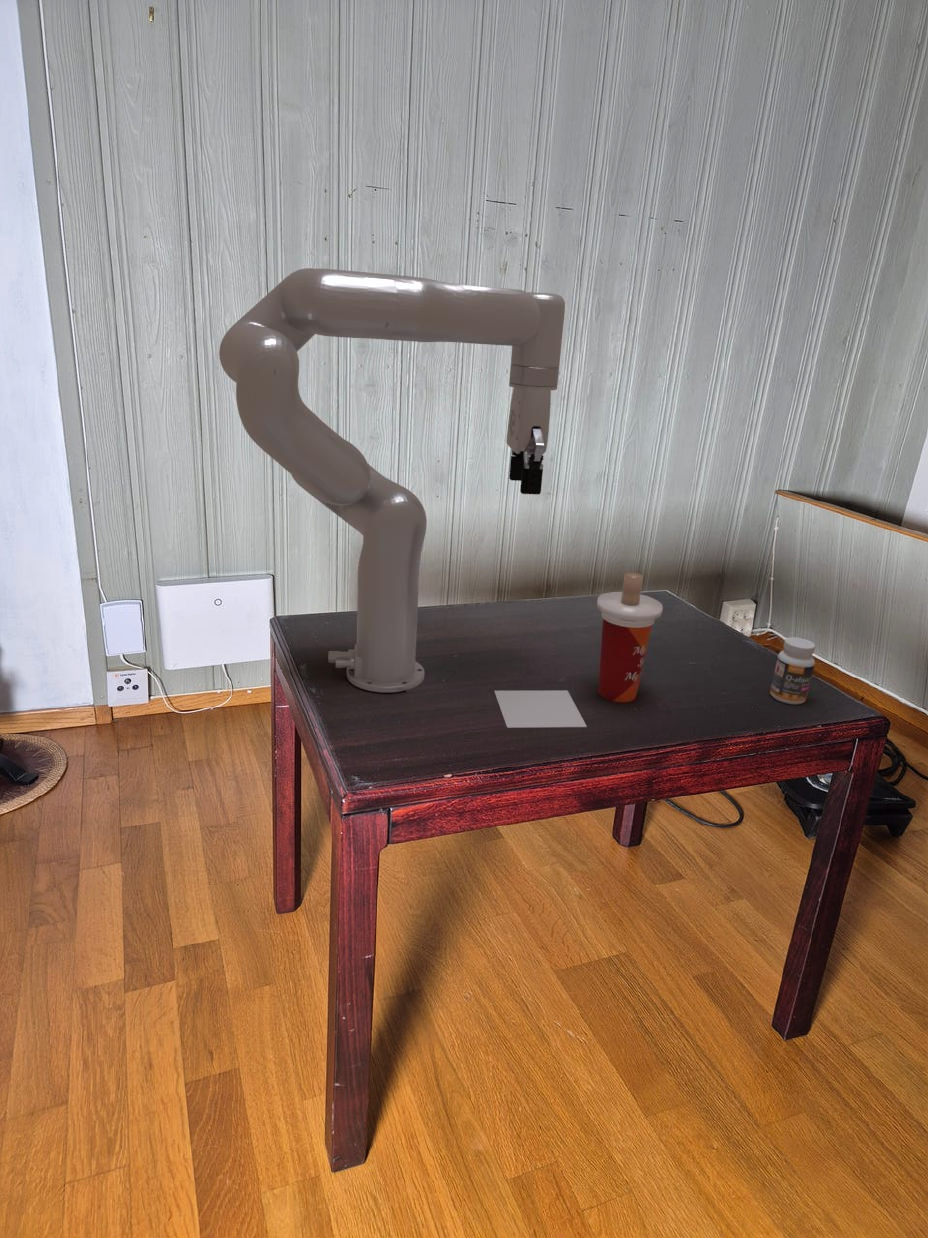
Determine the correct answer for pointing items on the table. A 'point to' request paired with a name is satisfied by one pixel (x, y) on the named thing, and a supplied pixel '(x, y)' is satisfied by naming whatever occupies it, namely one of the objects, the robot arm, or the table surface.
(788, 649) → the pill bottle
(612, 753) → the table surface
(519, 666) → the table surface
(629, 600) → the lid
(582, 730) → the table surface
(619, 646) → the coffee cup
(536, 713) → the mat
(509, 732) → the table surface
